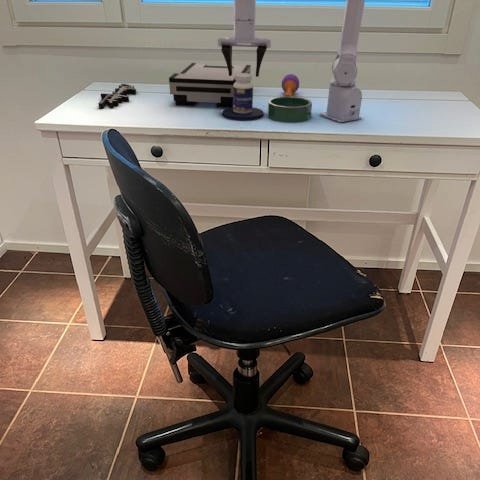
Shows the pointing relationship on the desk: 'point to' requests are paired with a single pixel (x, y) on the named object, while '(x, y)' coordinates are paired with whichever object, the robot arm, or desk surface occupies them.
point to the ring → (289, 109)
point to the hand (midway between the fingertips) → (243, 75)
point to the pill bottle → (242, 93)
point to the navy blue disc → (253, 115)
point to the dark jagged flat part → (117, 96)
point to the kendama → (290, 84)
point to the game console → (205, 84)
